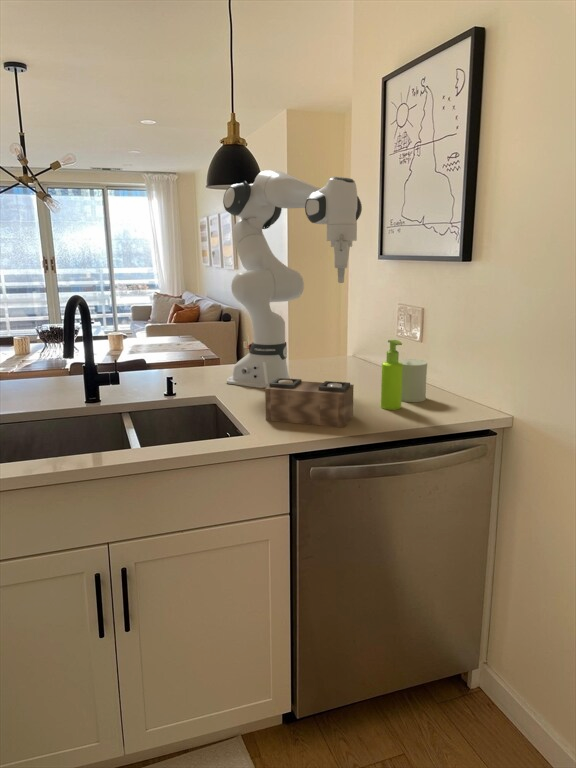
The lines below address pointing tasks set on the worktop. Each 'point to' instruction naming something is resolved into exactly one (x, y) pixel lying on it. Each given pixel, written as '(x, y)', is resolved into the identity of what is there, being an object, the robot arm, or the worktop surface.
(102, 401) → the worktop surface
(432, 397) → the worktop surface
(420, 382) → the can
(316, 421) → the walnut block
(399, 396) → the soap dispenser
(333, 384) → the steel peg
